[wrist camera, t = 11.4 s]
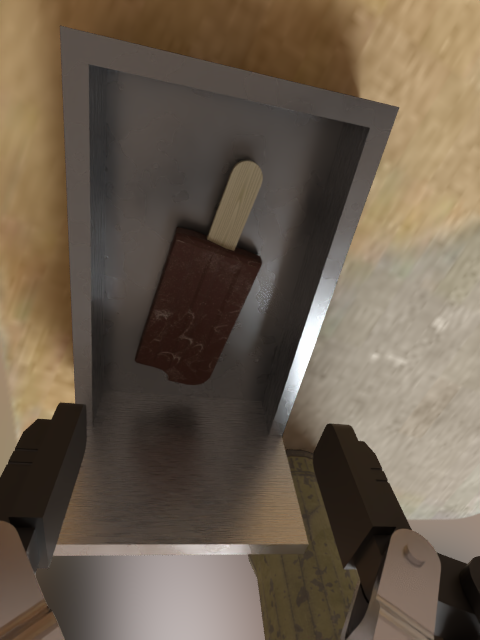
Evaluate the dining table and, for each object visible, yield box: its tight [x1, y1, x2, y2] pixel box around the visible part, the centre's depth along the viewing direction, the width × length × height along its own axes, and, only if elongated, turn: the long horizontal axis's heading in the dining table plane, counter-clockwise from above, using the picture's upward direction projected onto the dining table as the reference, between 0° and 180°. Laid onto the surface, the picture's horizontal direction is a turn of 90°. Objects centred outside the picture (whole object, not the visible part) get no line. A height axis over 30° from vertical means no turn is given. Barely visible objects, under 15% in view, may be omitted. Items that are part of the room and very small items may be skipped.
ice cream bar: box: [135, 160, 263, 385], centre depth 23 cm, size 5×2×15 cm
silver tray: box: [53, 26, 399, 556], centre depth 20 cm, size 24×14×12 cm, turn 169°
